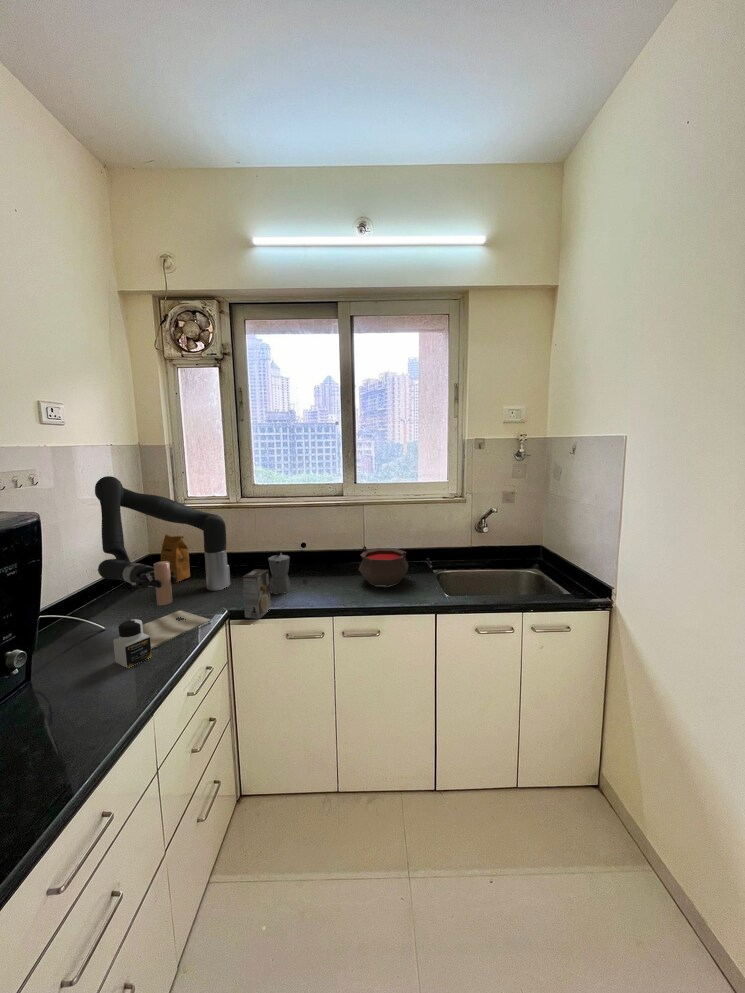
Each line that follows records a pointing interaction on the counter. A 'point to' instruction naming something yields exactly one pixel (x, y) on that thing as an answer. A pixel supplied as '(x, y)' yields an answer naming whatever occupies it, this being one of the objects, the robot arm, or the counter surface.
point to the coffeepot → (279, 573)
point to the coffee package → (176, 556)
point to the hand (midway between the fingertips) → (167, 582)
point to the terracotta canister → (163, 582)
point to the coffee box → (256, 593)
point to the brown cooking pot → (383, 565)
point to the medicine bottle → (131, 644)
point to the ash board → (171, 626)
